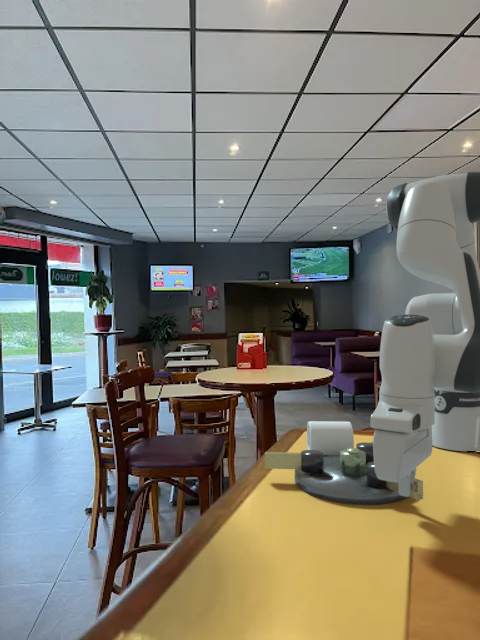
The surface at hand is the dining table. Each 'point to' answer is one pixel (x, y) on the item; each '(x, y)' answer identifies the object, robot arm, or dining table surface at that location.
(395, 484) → the knob
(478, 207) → the robot arm
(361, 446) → the knob
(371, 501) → the tribrach plate
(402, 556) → the dining table surface
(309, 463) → the knob
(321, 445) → the mug
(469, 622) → the dining table surface
